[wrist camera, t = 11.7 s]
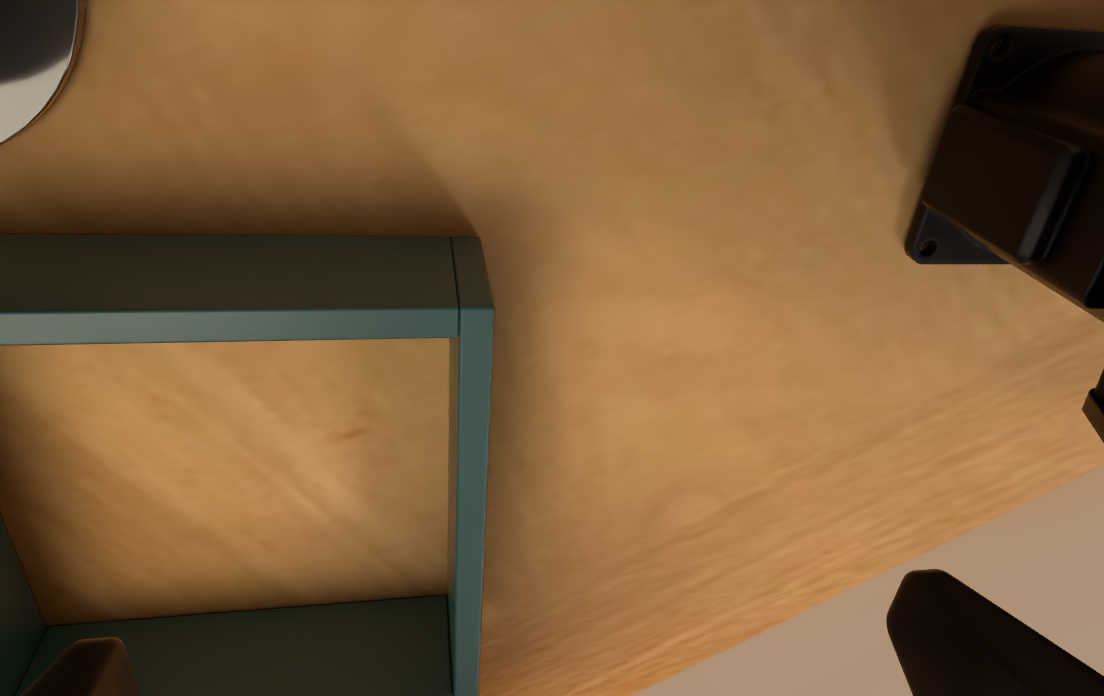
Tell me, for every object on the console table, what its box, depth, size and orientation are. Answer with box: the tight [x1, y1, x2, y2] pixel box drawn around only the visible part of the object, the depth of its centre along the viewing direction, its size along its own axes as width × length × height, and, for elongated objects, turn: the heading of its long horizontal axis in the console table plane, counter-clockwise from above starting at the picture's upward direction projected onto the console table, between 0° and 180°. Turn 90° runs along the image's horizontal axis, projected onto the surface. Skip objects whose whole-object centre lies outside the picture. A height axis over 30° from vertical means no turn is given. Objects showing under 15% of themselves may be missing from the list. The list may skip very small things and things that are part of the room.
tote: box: [0, 234, 495, 696], centre depth 21 cm, size 15×15×4 cm
